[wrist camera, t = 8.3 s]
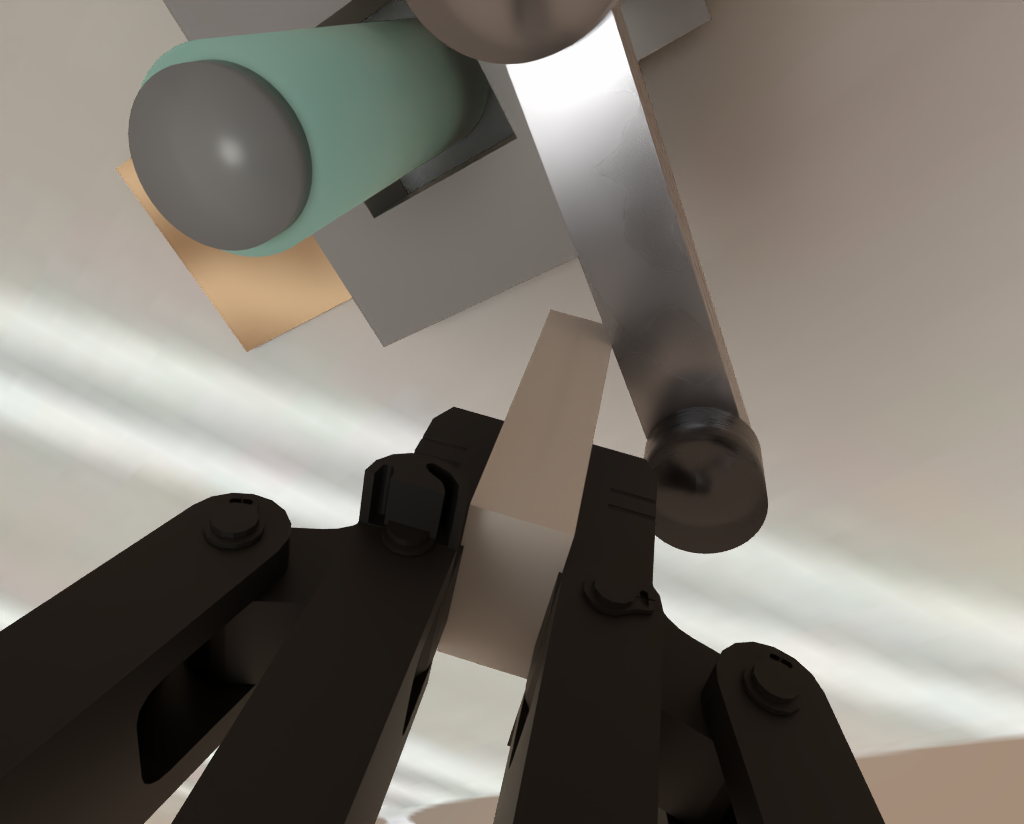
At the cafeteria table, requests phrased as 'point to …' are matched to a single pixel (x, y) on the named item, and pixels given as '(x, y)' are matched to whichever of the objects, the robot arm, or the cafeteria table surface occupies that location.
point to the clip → (628, 249)
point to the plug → (295, 126)
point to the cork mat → (253, 279)
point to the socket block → (441, 183)
